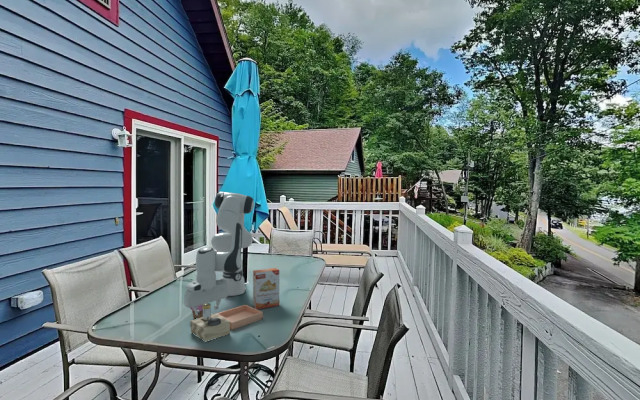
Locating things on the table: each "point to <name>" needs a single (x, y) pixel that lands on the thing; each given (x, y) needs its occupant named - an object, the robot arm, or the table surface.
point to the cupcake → (199, 310)
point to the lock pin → (206, 312)
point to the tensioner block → (210, 327)
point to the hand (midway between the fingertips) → (207, 311)
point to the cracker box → (265, 288)
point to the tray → (241, 316)
